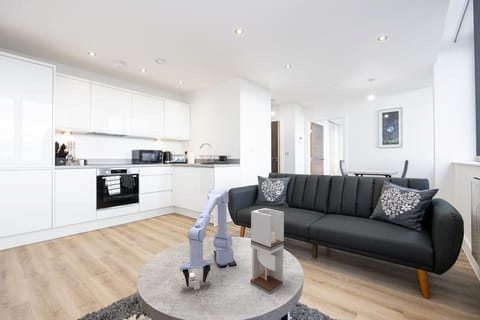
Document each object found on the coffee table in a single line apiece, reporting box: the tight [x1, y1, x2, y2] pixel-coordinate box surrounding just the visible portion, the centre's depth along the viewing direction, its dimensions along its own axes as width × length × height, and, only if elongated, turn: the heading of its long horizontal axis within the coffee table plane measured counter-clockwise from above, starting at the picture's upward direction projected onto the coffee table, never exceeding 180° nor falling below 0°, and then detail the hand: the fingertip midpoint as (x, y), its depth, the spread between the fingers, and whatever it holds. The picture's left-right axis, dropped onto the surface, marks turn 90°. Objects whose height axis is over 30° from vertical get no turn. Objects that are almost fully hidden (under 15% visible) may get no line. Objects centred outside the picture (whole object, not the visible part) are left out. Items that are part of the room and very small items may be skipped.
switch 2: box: [191, 279, 201, 291], centre depth 100 cm, size 2×4×2 cm, turn 25°
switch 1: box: [189, 271, 196, 282], centre depth 107 cm, size 2×4×2 cm, turn 25°
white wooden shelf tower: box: [249, 207, 285, 295], centre depth 106 cm, size 11×11×35 cm
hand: (196, 283), depth 100 cm, fingers open, 7 cm apart
